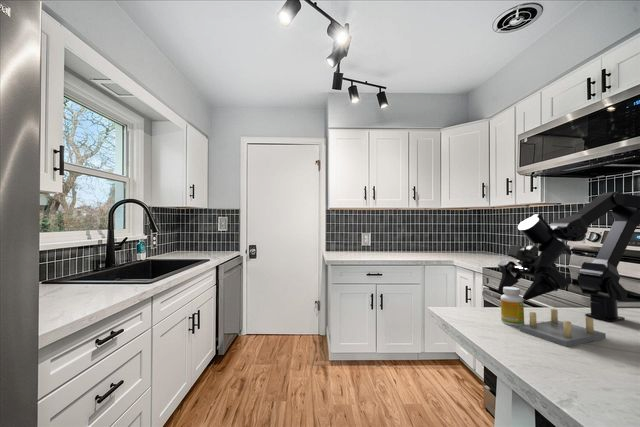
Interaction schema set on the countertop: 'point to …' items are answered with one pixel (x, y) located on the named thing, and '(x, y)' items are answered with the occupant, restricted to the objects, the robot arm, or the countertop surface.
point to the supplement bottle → (512, 307)
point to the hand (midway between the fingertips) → (510, 295)
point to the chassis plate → (562, 330)
